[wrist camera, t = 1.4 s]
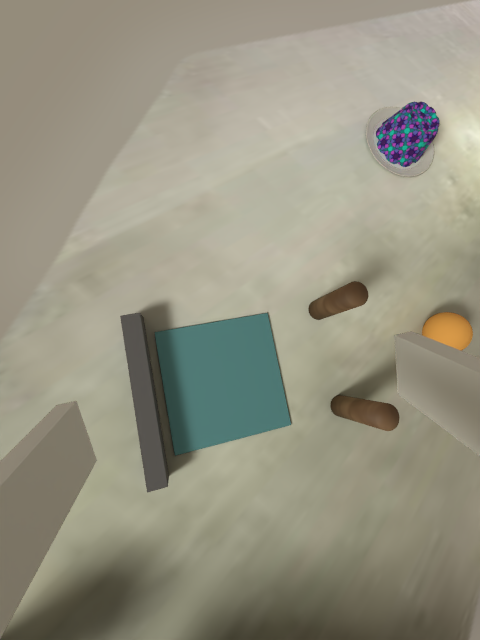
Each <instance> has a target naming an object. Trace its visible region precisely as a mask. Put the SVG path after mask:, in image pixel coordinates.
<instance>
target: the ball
mask: <svg viewBox="0 0 480 640" xmlns="http://www.w3.org/2000/svg"><path fill="white" fill-rule="evenodd" d="M422 335H423V336H425V337H428V338H430V339H433V340H435V341H438V342H440V343H443V344H445V345H448V346H450V347H453V348H456V349H458V350H461V351H462V350H463V349H465V348H466V347H467V346H468V345H469V344H470V342H471V340H472V336H473V331H472V327H471V325H470V323H469V322H468V321H467V320H466V319H465V318H464V317H462V316H460V315H458V314H455V313H450V312H444V313H439V314H436V315H434V316H432V317H430V318H429V319H428V320H427V321H426V322H425V324H424V326H423V330H422Z"/></svg>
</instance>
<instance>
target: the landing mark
mask: <svg viewBox="0 0 480 640" xmlns="http://www.w3.org/2000/svg"><path fill="white" fill-rule="evenodd" d="M155 338H156V344H157V350H158V356H159V362H160V368H161V375H162V381H163V387H164V393H165V399H166V405H167V411H168V417H169V423H170V429H171V435H172V441H173V447H174V453H175V455H179V454H183V453H187V452H190V451H194V450H198V449H202V448H206V447H209V446H213V445H217V444H221V443H225V442H228V441H232V440H236V439H240V438H243V437H247V436H251V435H255V434H259V433H262V432H266V431H270V430H274V429H278V428H281V427H285V426H289V425H291V422H290V417H289V412H288V408H287V403H286V398H285V394H284V389H283V384H282V379H281V375H280V370H279V365H278V360H277V356H276V351H275V346H274V341H273V337H272V332H271V327H270V323H269V318H268V313H265V314H259V315H253V316H247V317H241V318H236V319H230V320H224V321H218V322H212V323H206V324H201V325H195V326H189V327H183V328H177V329H171V330H165V331H160V332H155Z"/></svg>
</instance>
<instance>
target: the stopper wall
mask: <svg viewBox="0 0 480 640" xmlns="http://www.w3.org/2000/svg"><path fill="white" fill-rule="evenodd" d="M120 317H121V323H122V330H123V336H124V343H125V350H126V356H127V363H128V369H129V376H130V382H131V389H132V395H133V402H134V409H135V415H136V422H137V428H138V435H139V441H140V448H141V455H142V461H143V468H144V474H145V481H146V487H147V492H151V491H154V490H158V489H161V488H165V487H168V479H169V474H168V468H167V462H166V455H165V449H164V443H163V437H162V431H161V425H160V418H159V412H158V406H157V400H156V394H155V387H154V381H153V375H152V369H151V363H150V356H149V350H148V344H147V338H146V332H145V325H144V319H143V316H142V315H141V314H140V313H135V314H129V315H123V316H120Z"/></svg>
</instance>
